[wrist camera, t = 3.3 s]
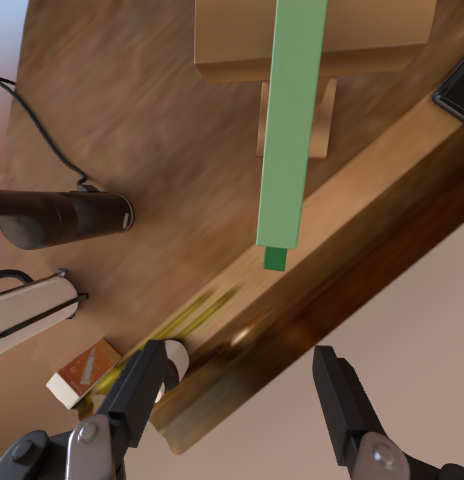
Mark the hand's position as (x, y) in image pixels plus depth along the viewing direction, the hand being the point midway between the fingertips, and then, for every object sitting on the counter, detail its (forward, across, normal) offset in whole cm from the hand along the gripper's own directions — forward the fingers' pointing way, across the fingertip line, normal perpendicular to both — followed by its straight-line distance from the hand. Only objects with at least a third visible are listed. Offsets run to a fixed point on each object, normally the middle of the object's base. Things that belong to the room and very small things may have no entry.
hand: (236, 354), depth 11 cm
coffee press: (+39, +52, +23) cm, 69 cm away
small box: (+34, +41, +40) cm, 67 cm away
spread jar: (+31, +20, +38) cm, 53 cm away
